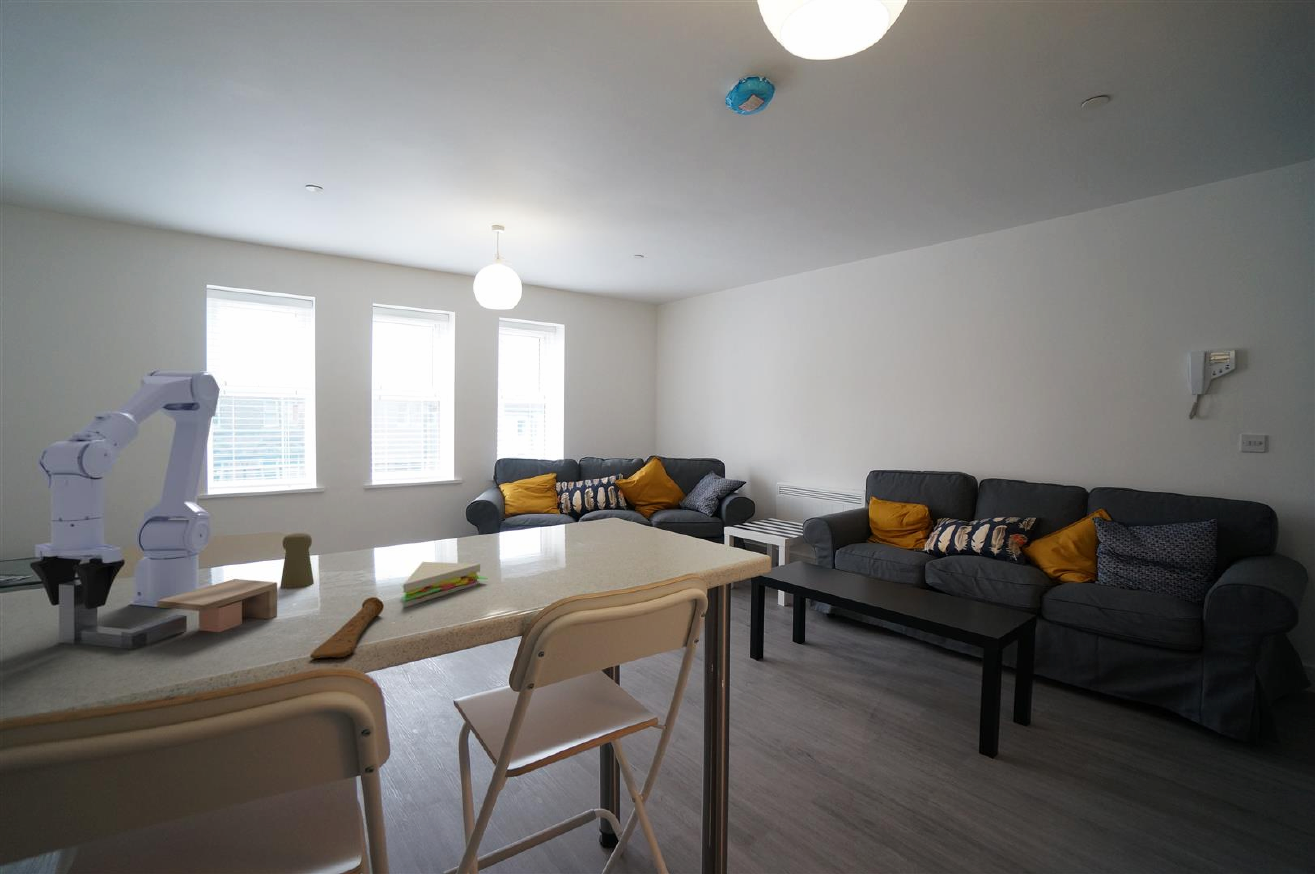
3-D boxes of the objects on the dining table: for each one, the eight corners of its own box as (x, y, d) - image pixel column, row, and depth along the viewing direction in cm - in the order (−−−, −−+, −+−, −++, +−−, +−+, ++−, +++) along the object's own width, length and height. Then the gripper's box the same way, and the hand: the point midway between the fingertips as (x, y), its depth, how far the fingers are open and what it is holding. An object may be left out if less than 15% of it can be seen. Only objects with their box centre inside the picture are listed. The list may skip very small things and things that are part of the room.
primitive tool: (308, 655, 81) (311, 677, 82) (348, 652, 82) (350, 674, 82) (362, 596, 100) (364, 614, 100) (394, 594, 100) (396, 612, 101)
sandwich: (359, 604, 108) (359, 578, 108) (433, 579, 126) (433, 557, 126) (421, 615, 102) (421, 587, 102) (490, 587, 120) (490, 563, 120)
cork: (290, 581, 121) (290, 531, 120) (319, 581, 121) (319, 531, 121) (273, 590, 115) (273, 536, 114) (304, 589, 115) (304, 536, 115)
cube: (199, 630, 92) (199, 606, 92) (222, 622, 96) (222, 599, 96) (218, 632, 91) (218, 608, 91) (241, 624, 95) (241, 601, 95)
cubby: (157, 638, 88) (157, 600, 88) (235, 612, 101) (235, 578, 101) (203, 643, 87) (203, 605, 86) (277, 616, 99) (277, 582, 99)
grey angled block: (59, 642, 86) (58, 584, 86) (122, 623, 95) (121, 570, 94) (128, 650, 84) (127, 590, 83) (186, 630, 92) (186, 576, 92)
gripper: (8, 520, 85) (9, 609, 85) (82, 524, 82) (83, 617, 82) (66, 513, 92) (67, 595, 92) (136, 517, 89) (136, 602, 89)
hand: (78, 605), depth 87 cm, fingers open, 6 cm apart
